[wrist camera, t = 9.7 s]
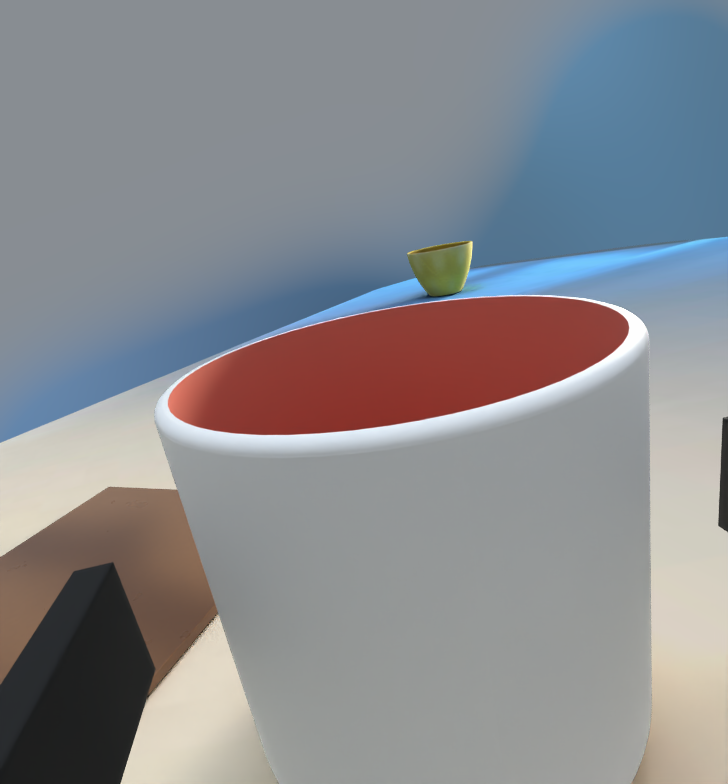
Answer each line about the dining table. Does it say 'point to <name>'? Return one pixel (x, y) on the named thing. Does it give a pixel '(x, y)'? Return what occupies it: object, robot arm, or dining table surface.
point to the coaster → (133, 564)
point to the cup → (431, 539)
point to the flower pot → (442, 267)
